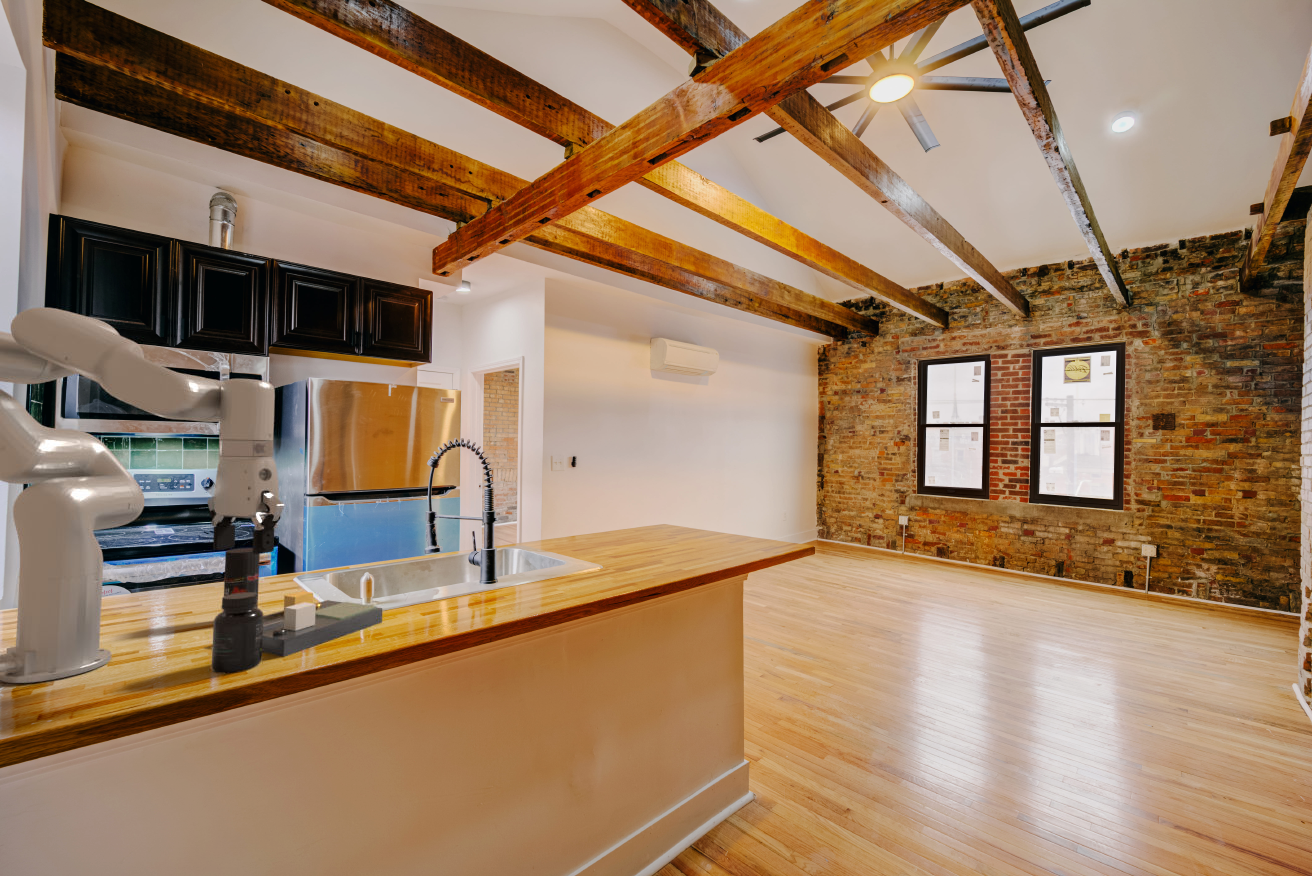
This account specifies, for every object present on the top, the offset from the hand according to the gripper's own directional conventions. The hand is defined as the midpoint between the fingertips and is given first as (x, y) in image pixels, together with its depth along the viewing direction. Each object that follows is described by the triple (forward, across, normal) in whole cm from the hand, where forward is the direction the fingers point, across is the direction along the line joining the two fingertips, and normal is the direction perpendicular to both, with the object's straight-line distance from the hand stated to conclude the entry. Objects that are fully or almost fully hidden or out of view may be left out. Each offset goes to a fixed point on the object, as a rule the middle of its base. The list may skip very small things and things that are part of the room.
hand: (243, 550), depth 95 cm
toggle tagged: (+16, +9, -18) cm, 26 cm away
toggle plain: (+17, +1, -12) cm, 20 cm away
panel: (+20, +5, -17) cm, 26 cm away
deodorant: (+20, +25, -17) cm, 36 cm away
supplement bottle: (+20, 0, 0) cm, 20 cm away
